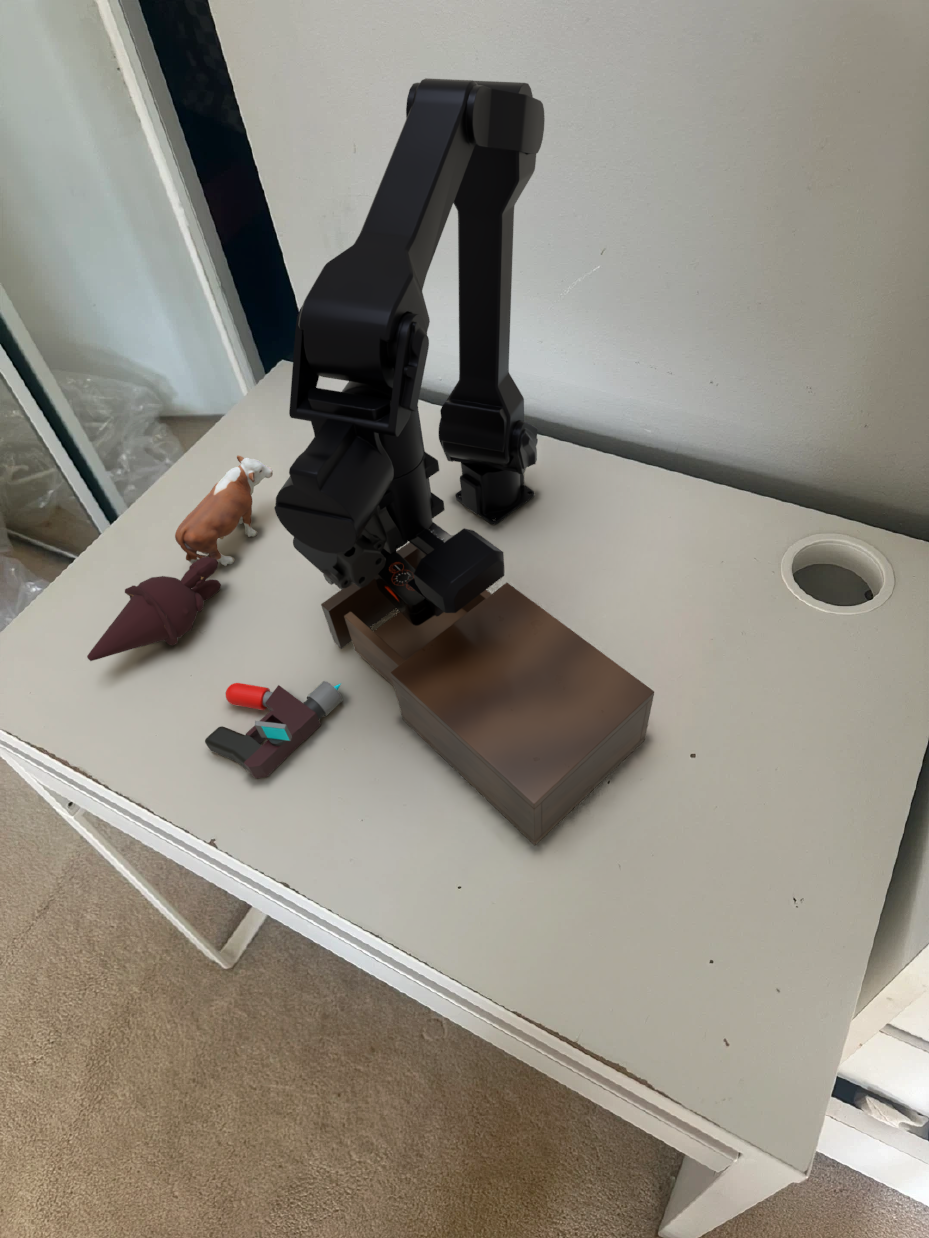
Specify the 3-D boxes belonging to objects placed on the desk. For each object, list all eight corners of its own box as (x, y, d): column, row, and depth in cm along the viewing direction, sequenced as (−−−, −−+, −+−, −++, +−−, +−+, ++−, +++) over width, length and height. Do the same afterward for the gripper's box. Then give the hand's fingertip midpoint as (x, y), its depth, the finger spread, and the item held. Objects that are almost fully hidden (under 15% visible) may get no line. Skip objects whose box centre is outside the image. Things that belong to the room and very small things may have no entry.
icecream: (104, 666, 70) (240, 574, 77) (54, 613, 72) (191, 529, 79) (120, 701, 76) (244, 612, 83) (72, 651, 77) (198, 569, 85)
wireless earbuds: (421, 636, 68) (416, 613, 66) (375, 589, 72) (369, 565, 70) (463, 608, 70) (460, 585, 67) (417, 564, 74) (412, 539, 71)
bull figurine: (292, 509, 90) (273, 453, 83) (210, 588, 83) (182, 534, 77) (263, 497, 91) (242, 441, 85) (181, 573, 85) (151, 519, 79)
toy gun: (357, 699, 73) (346, 669, 69) (259, 794, 68) (243, 767, 64) (286, 649, 77) (273, 618, 74) (190, 734, 72) (170, 706, 68)
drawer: (304, 614, 79) (290, 576, 74) (399, 548, 83) (391, 508, 79) (439, 741, 69) (432, 706, 64) (539, 658, 73) (539, 619, 69)
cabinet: (402, 719, 71) (389, 672, 65) (509, 633, 76) (506, 581, 71) (534, 845, 63) (534, 804, 57) (645, 739, 68) (654, 691, 62)
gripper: (225, 452, 60) (280, 586, 72) (380, 581, 50) (412, 710, 63) (342, 384, 64) (375, 522, 76) (505, 492, 54) (512, 629, 67)
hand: (413, 591), depth 70 cm, fingers closed on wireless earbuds, 7 cm apart
